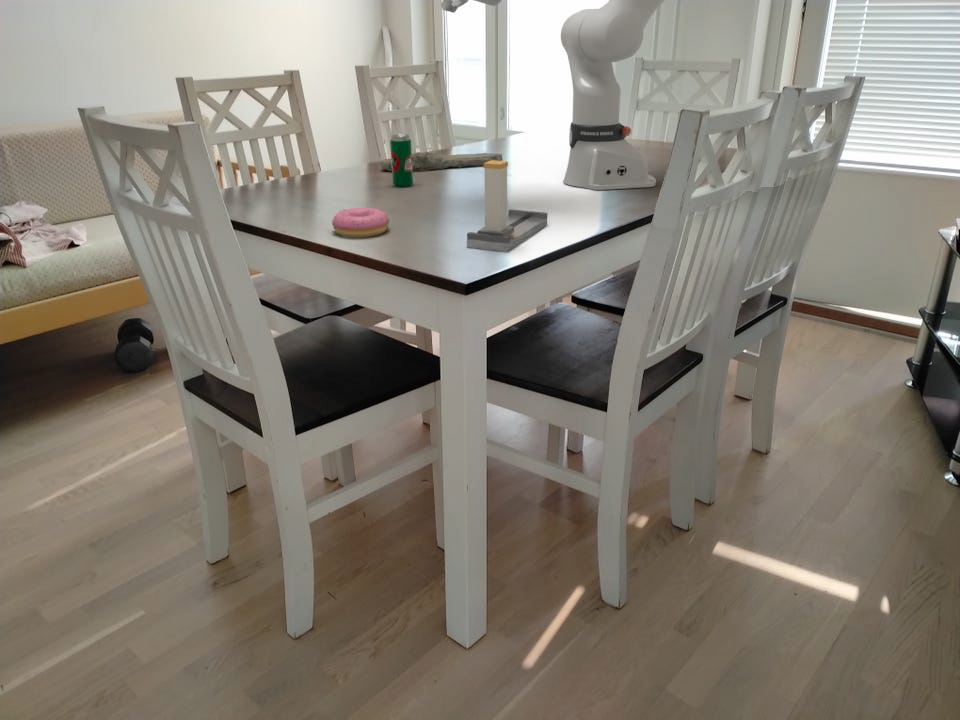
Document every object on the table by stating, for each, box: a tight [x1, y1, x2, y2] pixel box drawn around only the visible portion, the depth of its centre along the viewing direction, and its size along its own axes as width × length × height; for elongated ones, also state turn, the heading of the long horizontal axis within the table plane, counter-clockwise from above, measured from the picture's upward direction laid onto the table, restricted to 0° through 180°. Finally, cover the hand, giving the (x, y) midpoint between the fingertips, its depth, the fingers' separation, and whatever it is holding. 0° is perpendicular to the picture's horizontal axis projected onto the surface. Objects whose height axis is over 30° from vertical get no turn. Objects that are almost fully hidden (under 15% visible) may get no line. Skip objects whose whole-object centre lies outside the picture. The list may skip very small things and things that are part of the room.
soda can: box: [389, 133, 414, 188], centre depth 179 cm, size 5×5×12 cm
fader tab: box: [477, 160, 514, 236], centre depth 130 cm, size 5×5×13 cm
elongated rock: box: [380, 150, 504, 172], centre depth 203 cm, size 35×5×10 cm
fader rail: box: [466, 208, 548, 253], centre depth 138 cm, size 20×8×2 cm, turn 155°
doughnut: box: [331, 207, 390, 239], centre depth 142 cm, size 11×11×4 cm
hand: (447, 9), depth 154 cm, fingers closed
